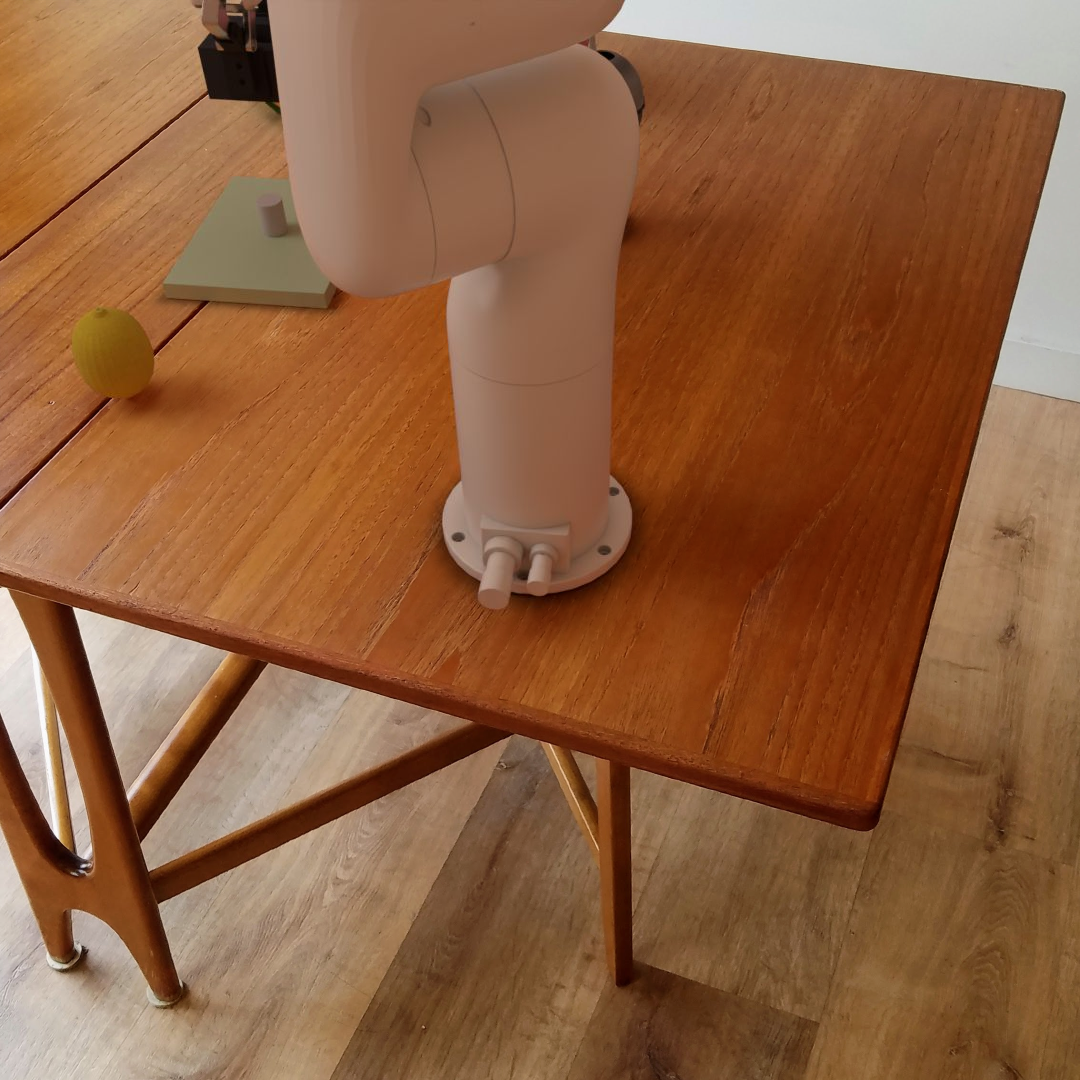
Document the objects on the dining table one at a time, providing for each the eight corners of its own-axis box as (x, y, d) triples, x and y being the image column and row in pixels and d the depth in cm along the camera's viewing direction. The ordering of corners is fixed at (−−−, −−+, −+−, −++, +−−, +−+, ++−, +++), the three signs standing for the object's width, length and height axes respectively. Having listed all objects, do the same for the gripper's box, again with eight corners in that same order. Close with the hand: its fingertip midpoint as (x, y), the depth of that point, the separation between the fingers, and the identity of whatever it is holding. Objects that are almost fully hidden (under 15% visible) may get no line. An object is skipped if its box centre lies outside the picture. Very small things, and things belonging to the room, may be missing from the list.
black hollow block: (303, 104, 88) (294, 52, 85) (209, 99, 89) (197, 47, 86) (324, 69, 92) (316, 18, 89) (234, 65, 93) (224, 14, 90)
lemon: (104, 429, 85) (70, 341, 79) (82, 390, 89) (48, 302, 83) (176, 403, 87) (147, 315, 81) (152, 366, 91) (123, 278, 85)
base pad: (327, 309, 95) (318, 261, 92) (166, 298, 97) (152, 251, 94) (379, 198, 108) (373, 153, 104) (236, 190, 109) (225, 145, 106)
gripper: (205, -220, 83) (254, 31, 96) (109, -145, 72) (180, 129, 85) (305, -218, 83) (341, 35, 96) (224, -142, 71) (278, 135, 84)
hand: (265, 77), depth 90 cm, fingers closed on black hollow block, 6 cm apart
